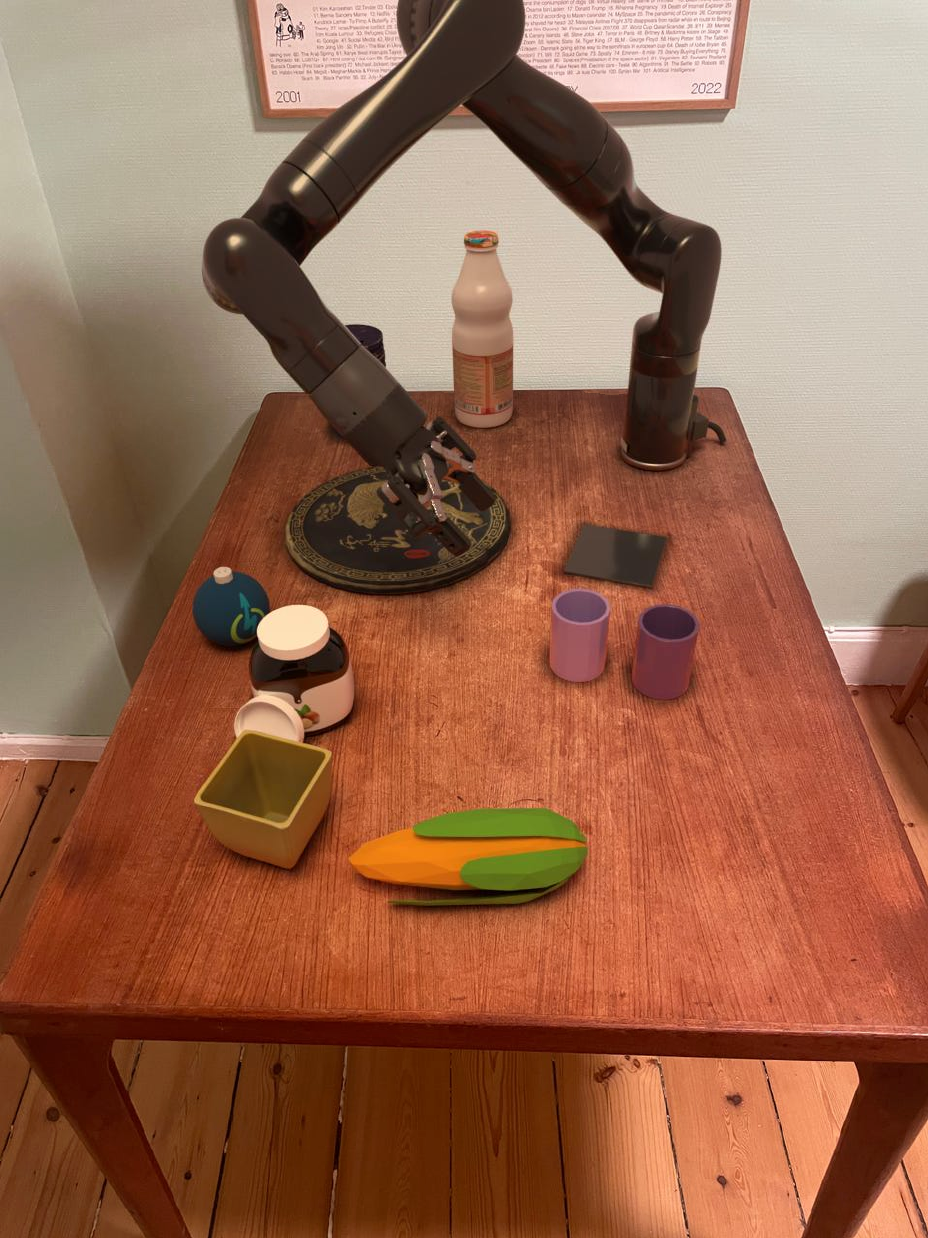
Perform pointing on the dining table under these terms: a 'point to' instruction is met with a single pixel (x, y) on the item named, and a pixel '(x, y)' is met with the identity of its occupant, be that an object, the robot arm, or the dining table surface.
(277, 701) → the spread jar
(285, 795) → the flower pot
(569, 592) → the lilac cup
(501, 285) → the fruit juice
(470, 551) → the decorative plate
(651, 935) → the dining table surface
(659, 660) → the plum cup
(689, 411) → the robot arm
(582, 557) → the coaster
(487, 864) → the corn
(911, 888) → the dining table surface
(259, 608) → the christmas ornament
